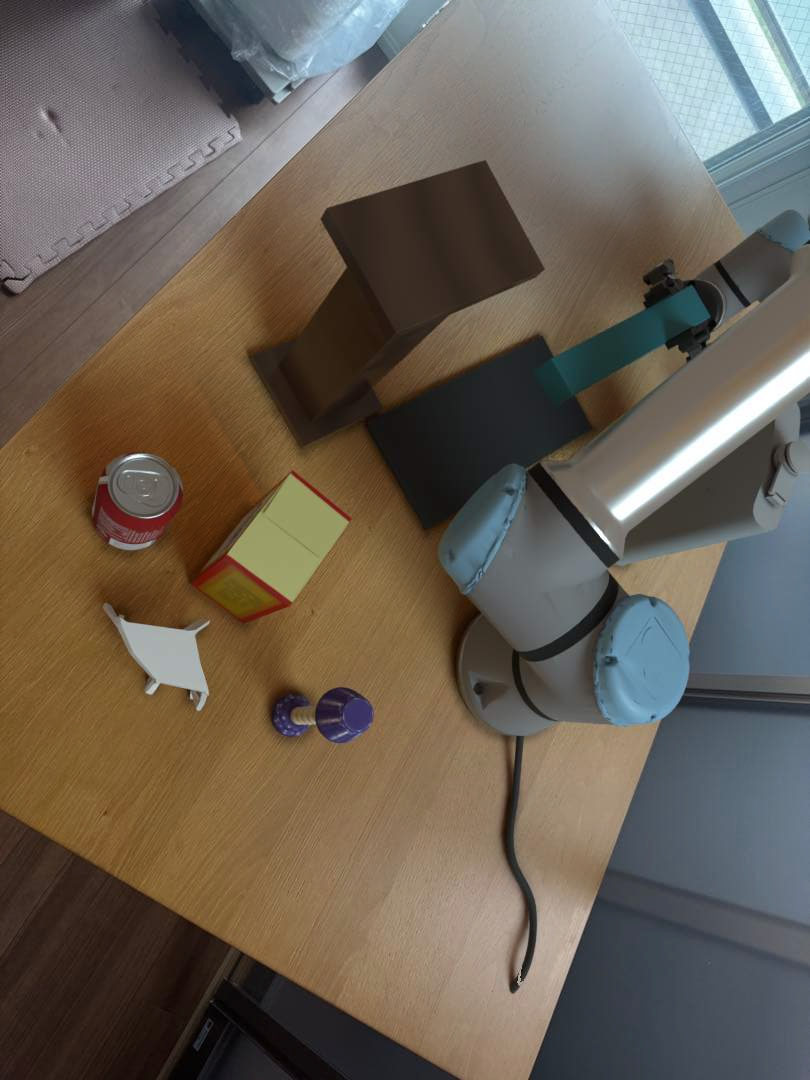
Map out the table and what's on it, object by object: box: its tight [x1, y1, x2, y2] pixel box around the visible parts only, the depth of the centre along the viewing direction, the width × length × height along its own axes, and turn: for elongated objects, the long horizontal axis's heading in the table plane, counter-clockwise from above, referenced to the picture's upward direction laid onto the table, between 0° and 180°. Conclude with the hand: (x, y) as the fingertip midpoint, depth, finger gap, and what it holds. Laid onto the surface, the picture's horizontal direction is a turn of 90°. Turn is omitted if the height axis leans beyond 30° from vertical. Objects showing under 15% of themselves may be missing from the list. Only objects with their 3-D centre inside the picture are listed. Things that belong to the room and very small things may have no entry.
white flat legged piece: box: [102, 602, 211, 712], centre depth 66 cm, size 12×8×5 cm
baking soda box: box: [190, 469, 353, 625], centre depth 67 cm, size 10×6×16 cm
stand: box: [249, 159, 546, 450], centre depth 68 cm, size 16×11×30 cm
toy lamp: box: [270, 686, 375, 744], centre depth 66 cm, size 5×5×17 cm
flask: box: [614, 402, 810, 567], centre depth 88 cm, size 17×5×25 cm, turn 156°
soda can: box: [91, 451, 184, 552], centre depth 65 cm, size 7×7×12 cm
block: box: [534, 285, 710, 407], centre depth 74 cm, size 23×4×3 cm, turn 123°
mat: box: [364, 335, 593, 531], centre depth 90 cm, size 30×14×1 cm, turn 123°
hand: (667, 319), depth 74 cm, fingers closed on block, 4 cm apart
